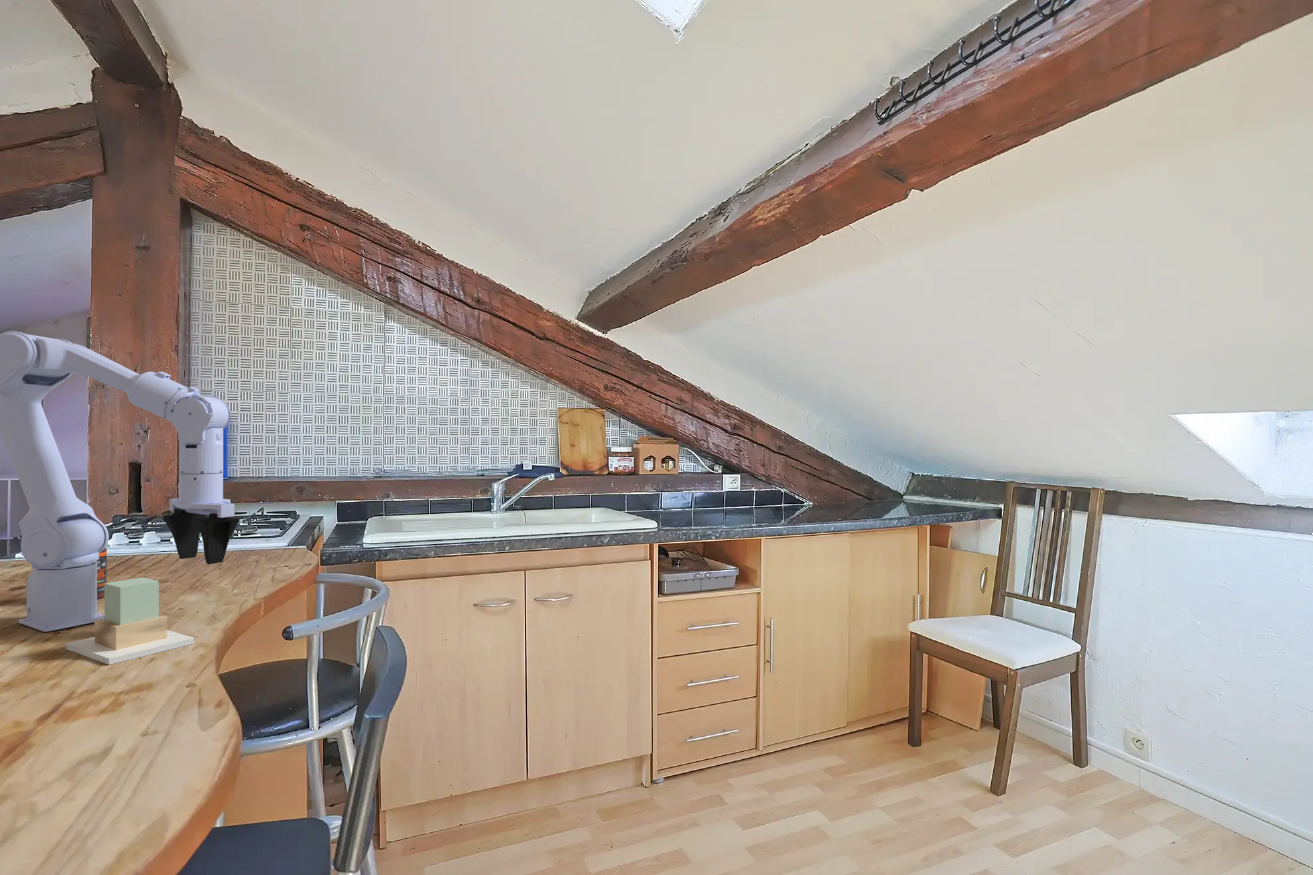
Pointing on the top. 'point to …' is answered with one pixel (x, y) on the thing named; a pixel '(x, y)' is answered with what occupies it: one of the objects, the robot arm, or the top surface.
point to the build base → (130, 651)
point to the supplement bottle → (101, 573)
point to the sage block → (131, 600)
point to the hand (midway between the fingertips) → (201, 560)
